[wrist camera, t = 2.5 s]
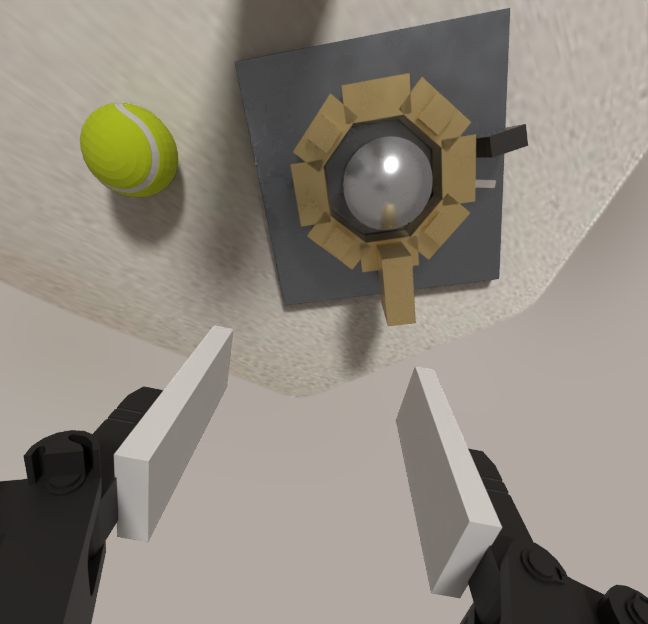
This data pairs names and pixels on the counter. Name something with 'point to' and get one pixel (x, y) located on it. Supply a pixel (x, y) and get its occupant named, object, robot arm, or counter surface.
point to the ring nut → (437, 216)
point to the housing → (382, 150)
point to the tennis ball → (129, 150)
